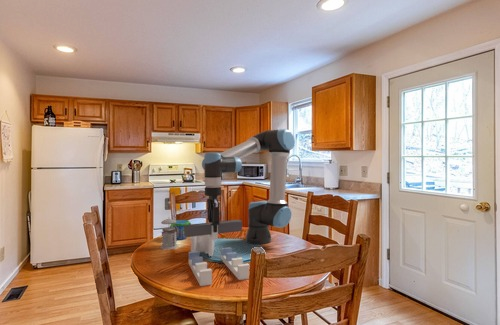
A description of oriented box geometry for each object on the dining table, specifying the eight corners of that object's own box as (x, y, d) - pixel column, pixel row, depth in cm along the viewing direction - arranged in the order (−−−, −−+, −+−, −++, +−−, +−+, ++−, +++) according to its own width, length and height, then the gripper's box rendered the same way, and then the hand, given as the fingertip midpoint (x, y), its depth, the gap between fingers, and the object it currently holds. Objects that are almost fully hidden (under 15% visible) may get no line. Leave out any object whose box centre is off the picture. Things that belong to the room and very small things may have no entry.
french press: (171, 243, 171) (170, 199, 171) (184, 247, 164) (183, 201, 163) (156, 247, 163) (155, 201, 163) (168, 251, 156) (168, 203, 156)
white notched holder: (230, 258, 145) (230, 247, 145) (249, 278, 120) (249, 264, 120) (188, 263, 137) (188, 251, 137) (200, 286, 113) (200, 271, 113)
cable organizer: (211, 259, 144) (211, 235, 143) (189, 259, 143) (189, 235, 143) (214, 249, 159) (214, 228, 158) (194, 250, 158) (194, 228, 158)
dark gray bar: (239, 229, 143) (238, 219, 142) (242, 230, 139) (241, 221, 139) (184, 235, 133) (183, 225, 133) (185, 237, 129) (185, 226, 129)
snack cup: (186, 234, 191) (186, 218, 190) (196, 237, 183) (196, 221, 183) (164, 239, 180) (164, 222, 180) (173, 242, 172) (173, 225, 172)
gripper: (200, 185, 142) (201, 234, 142) (209, 188, 126) (210, 243, 127) (215, 184, 145) (216, 232, 145) (226, 188, 129) (226, 241, 129)
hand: (213, 237), depth 136 cm, fingers closed on dark gray bar, 4 cm apart
